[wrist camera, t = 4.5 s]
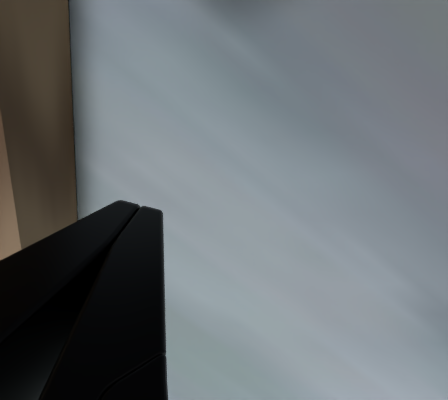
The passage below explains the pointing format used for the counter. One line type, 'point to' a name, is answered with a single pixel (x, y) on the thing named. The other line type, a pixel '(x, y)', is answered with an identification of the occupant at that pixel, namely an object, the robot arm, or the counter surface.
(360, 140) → the counter surface
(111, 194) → the counter surface
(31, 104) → the trap deck
